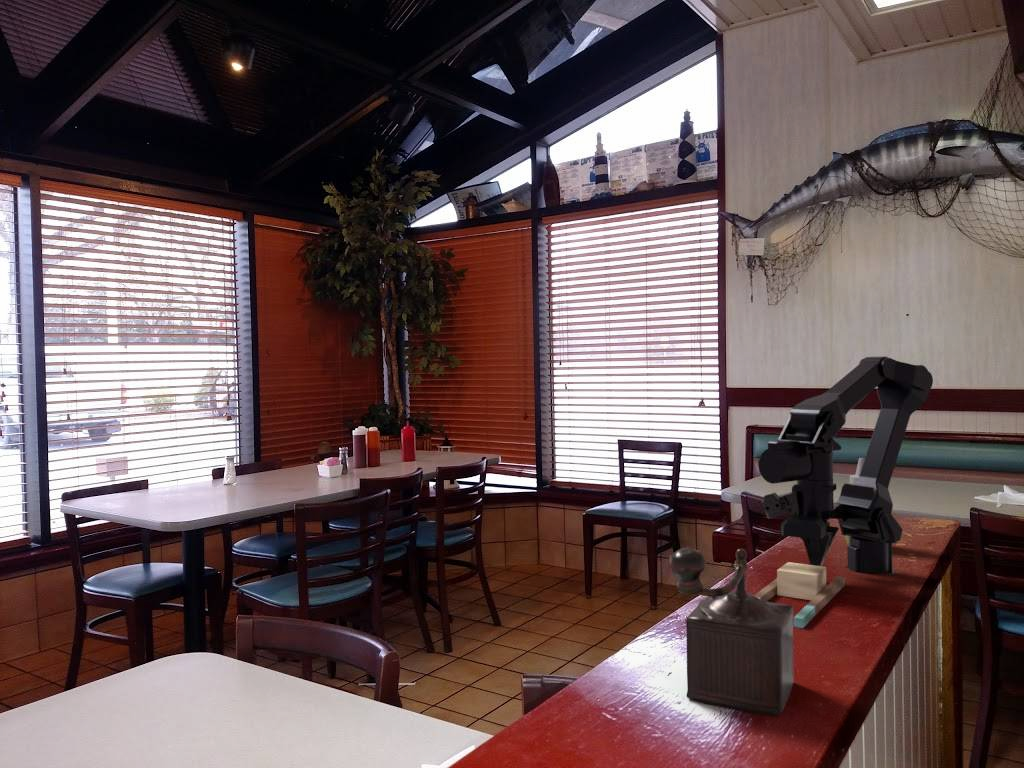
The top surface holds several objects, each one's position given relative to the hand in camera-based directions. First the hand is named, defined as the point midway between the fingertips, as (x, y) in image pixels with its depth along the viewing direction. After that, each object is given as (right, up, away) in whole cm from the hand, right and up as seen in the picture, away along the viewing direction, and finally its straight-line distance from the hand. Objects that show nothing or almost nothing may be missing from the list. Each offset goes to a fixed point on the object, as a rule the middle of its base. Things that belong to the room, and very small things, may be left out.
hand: (816, 570), depth 131 cm
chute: (-7, -3, -10) cm, 13 cm away
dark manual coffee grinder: (-26, -4, -43) cm, 51 cm away
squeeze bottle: (+20, -2, +26) cm, 33 cm away
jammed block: (-5, -2, -7) cm, 9 cm away
